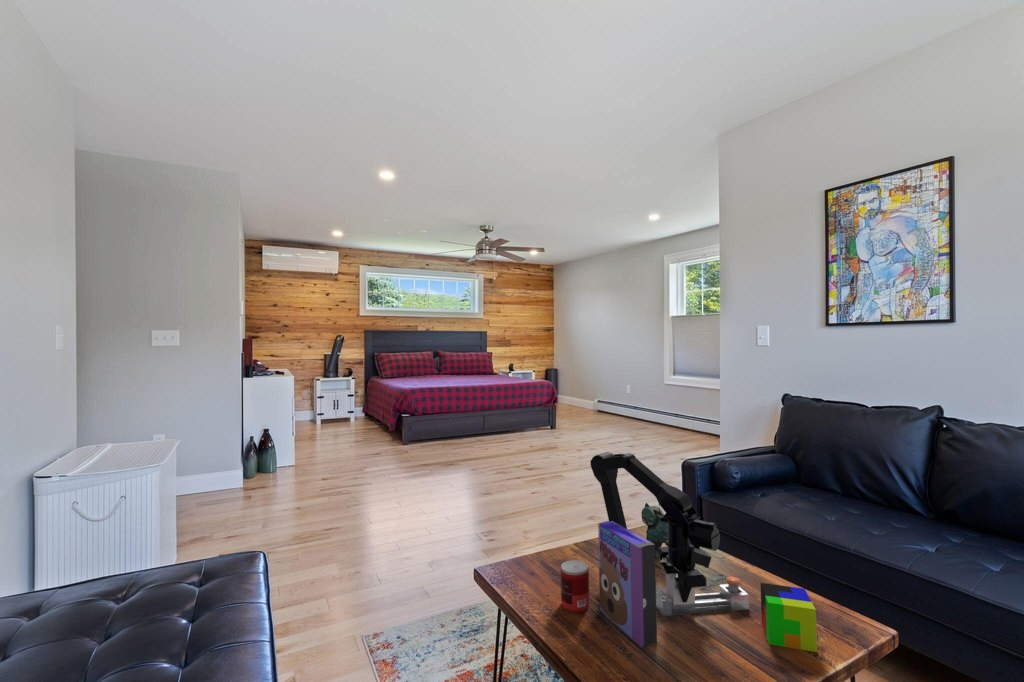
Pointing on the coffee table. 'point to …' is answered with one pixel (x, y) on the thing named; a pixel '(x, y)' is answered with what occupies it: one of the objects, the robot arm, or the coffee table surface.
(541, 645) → the coffee table surface
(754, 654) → the coffee table surface
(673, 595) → the carriage
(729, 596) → the rail
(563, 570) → the canned food
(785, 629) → the puzzle toy
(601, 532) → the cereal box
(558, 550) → the coffee table surface
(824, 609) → the coffee table surface
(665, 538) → the ceramic cat
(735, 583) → the button
